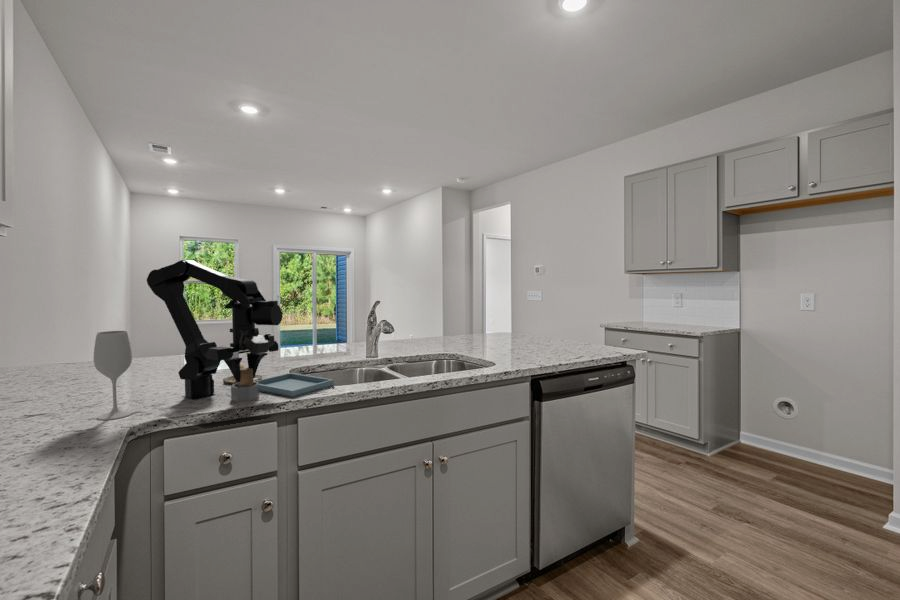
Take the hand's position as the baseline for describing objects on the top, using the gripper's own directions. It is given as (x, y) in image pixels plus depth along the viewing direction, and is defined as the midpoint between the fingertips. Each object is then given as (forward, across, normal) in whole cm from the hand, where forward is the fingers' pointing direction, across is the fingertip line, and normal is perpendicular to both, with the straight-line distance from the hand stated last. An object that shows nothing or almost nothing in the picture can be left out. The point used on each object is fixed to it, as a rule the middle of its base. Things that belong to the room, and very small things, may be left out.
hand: (245, 380), depth 124 cm
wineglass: (+6, -25, +16) cm, 30 cm away
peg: (+5, 0, 0) cm, 5 cm away
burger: (+6, +13, +20) cm, 25 cm away
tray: (+6, +15, -1) cm, 16 cm away
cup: (+6, 0, 0) cm, 6 cm away
